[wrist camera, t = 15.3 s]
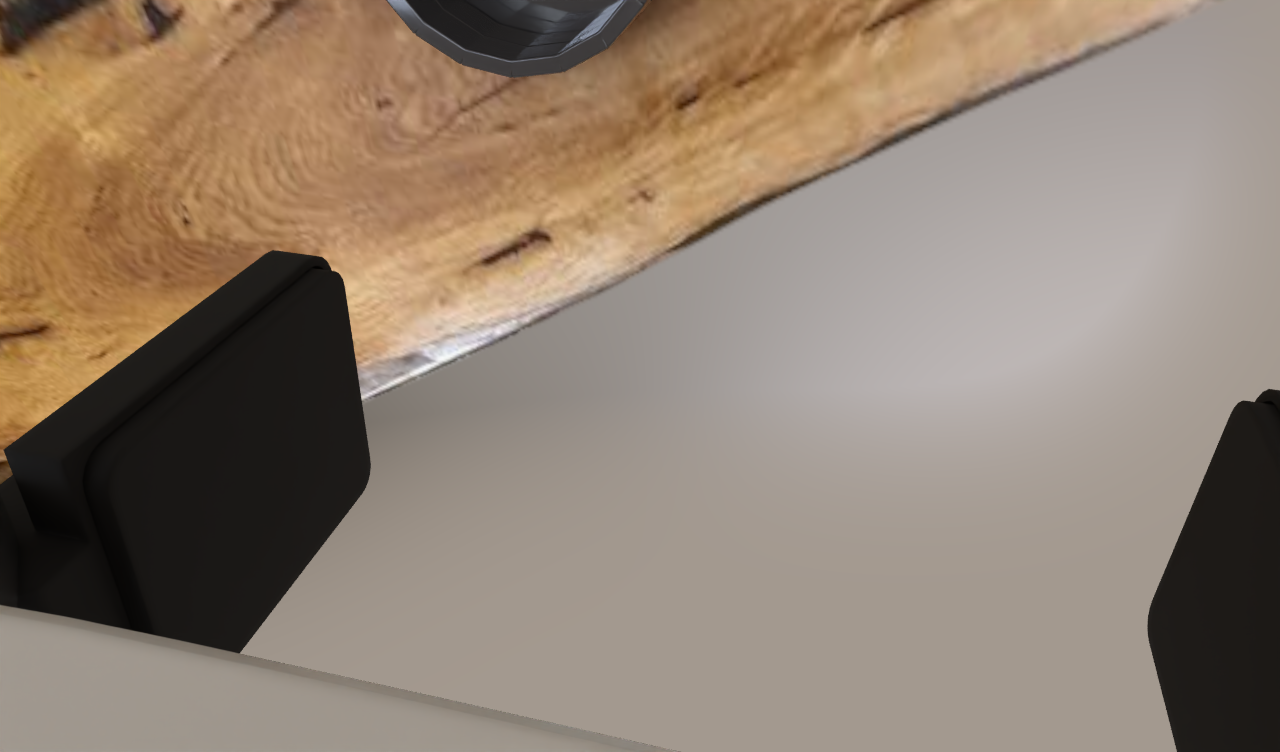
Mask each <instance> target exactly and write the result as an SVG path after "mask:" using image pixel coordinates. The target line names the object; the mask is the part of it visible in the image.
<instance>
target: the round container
mask: <svg viewBox="0 0 1280 752" xmlns="http://www.w3.org/2000/svg"><path fill="white" fill-rule="evenodd" d="M386 1H387V2H388V3H389V4H390V5H391V7H392V8H393V9H394V10H395V12H396V13H397V14H398V15H399V16H400V18H401V19H402V20H403V21H404V22H405V24H406V25H407V26H408V27H409V28H410V30H411V31H412V32H413V33H415V34H416V35H417V36H418V37H420V38H421V39H423V40H424V41H426V42H427V43H429V44H430V45H432V46H433V47H435V48H436V49H438V50H439V51H441V52H442V53H444V54H446V55H447V56H449V57H450V58H452V59H453V60H455V61H456V62H458V63H459V64H462V65H464V66H468V67H472V68H475V69H479V70H483V71H487V72H491V73H495V74H499V75H503V76H506V77H510V78H511V77H513V78H518V77H527V76H536V75H545V74H554V73H562V72H565V71H567V70H569V69H571V68H573V67H575V66H577V65H578V64H580V63H582V62H584V61H586V60H588V59H590V58H591V57H593V56H595V55H597V54H599V53H601V52H602V51H604V50H606V49H608V48H609V47H610V46H611V45H612V44H613V43H614V42H615V41H616V40H617V39H618V38H619V37H620V36H621V35H622V34H623V33H624V32H625V31H626V29H627V28H628V27H629V26H630V25H631V24H632V23H633V22H634V21H635V20H636V19H637V17H638V16H639V15H640V14H641V13H642V11H643V10H644V9H645V8H646V7H647V5H648V4H649V3H650V2H651V1H652V0H386Z"/></svg>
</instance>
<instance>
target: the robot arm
mask: <svg viewBox="0 0 1280 752" xmlns="http://www.w3.org/2000/svg"><path fill="white" fill-rule="evenodd" d="M4 452H5V455H6V457H7V460H8V463H9V465H10V468H11V470H12V473H13V475H12V476H11V477H9V478H8V479H7V480H6V481H4V482H3V483H2V484H1V485H0V752H679V751H674V750H670V749H666V748H661V747H657V746H653V745H648V744H644V743H639V742H635V741H631V740H626V739H621V738H617V737H612V736H608V735H604V734H600V733H595V732H590V731H586V730H581V729H577V728H573V727H568V726H563V725H559V724H555V723H551V722H546V721H542V720H537V719H533V718H528V717H524V716H519V715H515V714H511V713H506V712H502V711H497V710H493V709H488V708H484V707H479V706H475V705H470V704H466V703H461V702H457V701H452V700H448V699H444V698H439V697H435V696H430V695H426V694H421V693H417V692H412V691H407V690H403V689H399V688H394V687H389V686H385V685H380V684H375V683H371V682H366V681H362V680H358V679H353V678H348V677H344V676H339V675H335V674H330V673H326V672H321V671H316V670H311V669H307V668H303V667H298V666H293V665H289V664H285V663H280V662H275V661H271V660H266V659H262V658H257V657H252V656H247V655H244V654H239V653H240V652H241V651H242V650H243V648H244V647H245V646H246V644H247V643H248V642H249V640H250V639H251V638H252V637H253V635H254V634H255V632H256V631H257V630H258V629H259V627H260V626H261V625H262V623H263V622H264V621H265V620H266V618H267V617H268V616H269V614H270V613H271V612H272V610H273V609H274V608H275V607H276V605H277V604H278V603H279V601H280V600H281V599H282V597H283V596H284V595H285V594H286V592H287V591H288V590H289V588H290V587H291V586H292V584H293V583H294V581H295V580H296V579H297V578H298V576H299V575H300V574H301V573H302V571H303V570H304V569H305V567H306V566H307V565H308V563H309V562H310V561H311V560H312V558H313V557H314V555H315V554H316V553H317V552H318V550H319V549H320V548H321V547H322V545H323V544H324V542H325V541H326V540H327V539H328V537H329V536H330V535H331V534H332V532H333V531H334V530H335V528H336V527H337V526H338V524H339V523H340V522H341V521H342V519H343V518H344V517H345V515H346V514H347V513H348V511H349V510H350V509H351V508H352V506H353V505H354V504H355V502H356V501H357V500H358V498H359V497H360V495H362V493H363V491H364V490H365V488H366V485H367V483H368V480H369V475H370V468H371V463H370V454H369V448H368V441H367V434H366V427H365V420H364V414H363V407H362V400H361V393H360V387H359V380H358V373H357V366H356V359H355V353H354V346H353V339H352V332H351V326H350V319H349V312H348V305H347V299H346V292H345V286H344V282H343V279H342V277H341V275H340V274H339V273H337V272H335V271H332V270H331V267H330V266H329V264H328V262H327V261H326V260H325V259H324V258H322V257H319V256H312V255H304V254H297V253H290V252H283V251H274V250H273V251H270V252H268V253H266V254H265V255H263V256H262V257H261V258H259V259H258V260H257V261H255V262H254V263H253V264H251V265H250V266H249V267H247V268H246V269H245V270H243V271H242V272H241V273H239V274H238V275H237V276H235V277H234V278H233V279H231V280H230V281H229V282H227V283H226V284H225V285H223V286H222V287H221V288H219V289H218V290H217V291H215V292H214V293H213V294H211V295H210V296H209V297H207V298H206V299H205V300H203V301H202V302H201V303H199V304H198V305H197V306H195V307H194V308H193V309H191V310H190V311H189V312H187V313H186V314H185V315H183V316H182V317H180V318H179V319H178V320H176V321H175V322H174V323H172V324H171V325H170V326H168V327H167V328H166V329H164V330H163V331H162V332H160V333H159V334H158V335H156V336H155V337H154V338H152V339H151V340H150V341H148V342H147V343H146V344H144V345H143V346H142V347H140V348H139V349H138V350H136V351H135V352H134V353H132V354H131V355H130V356H128V357H127V358H126V359H124V360H123V361H122V362H120V363H119V364H118V365H116V366H115V367H114V368H112V369H111V370H110V371H108V372H107V373H106V374H104V375H103V376H102V377H100V378H99V379H98V380H96V381H95V382H94V383H92V384H91V385H90V386H88V387H87V388H86V389H84V390H83V391H82V392H80V393H79V394H78V395H76V396H75V397H74V398H72V399H71V400H70V401H68V402H67V403H66V404H64V405H63V406H62V407H60V408H59V409H58V410H56V411H55V412H53V413H52V414H51V415H49V416H48V417H47V418H45V419H44V420H43V421H41V422H40V423H39V424H37V425H36V426H35V427H33V428H32V429H31V430H29V431H28V432H27V433H25V434H24V435H23V436H21V437H20V438H19V439H17V440H16V441H15V442H13V443H12V444H11V445H9V446H8V447H7V448H5V449H4ZM1148 638H1149V643H1150V647H1151V651H1152V655H1153V659H1154V663H1155V666H1156V671H1157V675H1158V679H1159V683H1160V686H1161V690H1162V694H1163V698H1164V702H1165V706H1166V710H1167V714H1168V717H1169V722H1170V726H1171V730H1172V733H1173V737H1174V741H1175V745H1176V749H1177V752H1280V391H1279V390H1272V389H1268V390H1266V391H1264V392H1262V394H1261V395H1260V396H1259V397H1258V398H1257V399H1256V401H1255V402H1250V401H1241V402H1239V403H1238V404H1237V405H1236V406H1235V407H1234V409H1233V411H1232V413H1231V415H1230V417H1229V419H1228V422H1227V424H1226V426H1225V429H1224V431H1223V434H1222V436H1221V438H1220V441H1219V443H1218V445H1217V448H1216V450H1215V453H1214V455H1213V457H1212V460H1211V462H1210V465H1209V467H1208V469H1207V472H1206V474H1205V476H1204V479H1203V481H1202V484H1201V486H1200V488H1199V491H1198V493H1197V495H1196V498H1195V500H1194V503H1193V505H1192V507H1191V510H1190V512H1189V515H1188V517H1187V519H1186V522H1185V524H1184V526H1183V529H1182V531H1181V533H1180V536H1179V538H1178V541H1177V543H1176V545H1175V548H1174V550H1173V553H1172V555H1171V557H1170V560H1169V562H1168V564H1167V567H1166V569H1165V571H1164V574H1163V576H1162V579H1161V581H1160V583H1159V586H1158V588H1157V590H1156V593H1155V595H1154V598H1153V600H1152V603H1151V606H1150V610H1149V615H1148Z"/></svg>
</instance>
